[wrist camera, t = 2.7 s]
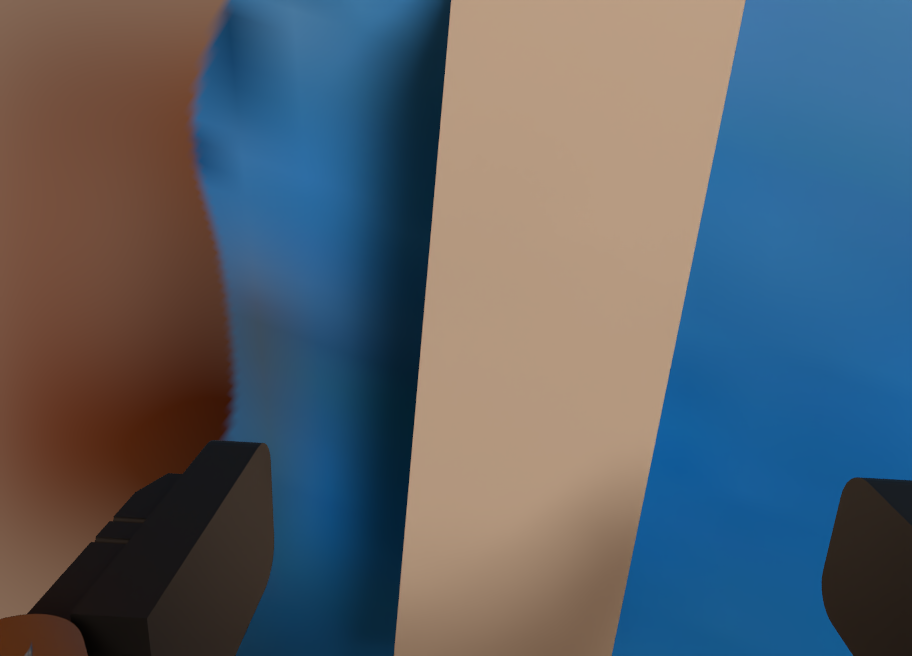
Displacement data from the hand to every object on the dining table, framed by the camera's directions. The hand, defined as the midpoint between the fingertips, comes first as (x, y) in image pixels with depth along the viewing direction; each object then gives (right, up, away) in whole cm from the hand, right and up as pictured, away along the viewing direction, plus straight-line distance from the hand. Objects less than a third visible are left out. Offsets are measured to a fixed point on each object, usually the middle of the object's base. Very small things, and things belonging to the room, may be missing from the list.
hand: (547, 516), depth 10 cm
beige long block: (+1, +3, +10) cm, 11 cm away
